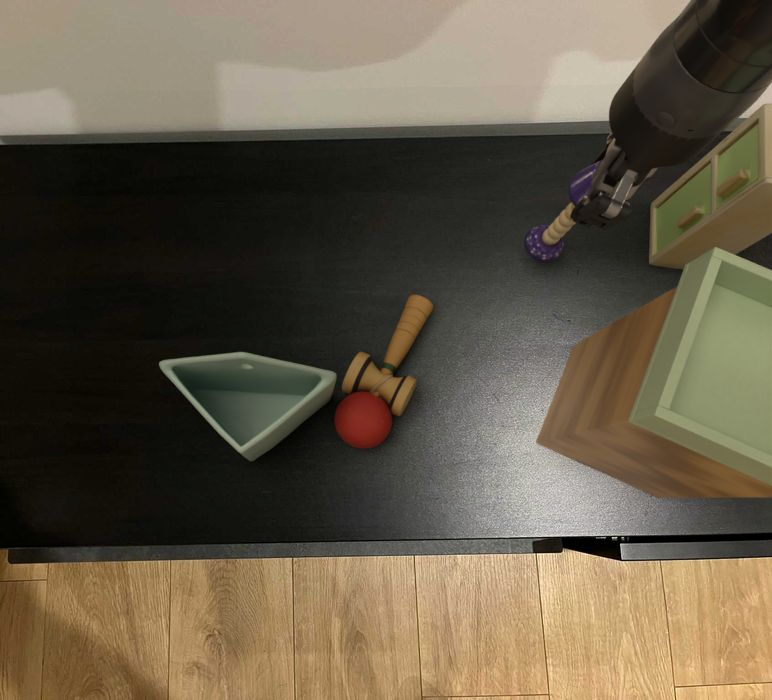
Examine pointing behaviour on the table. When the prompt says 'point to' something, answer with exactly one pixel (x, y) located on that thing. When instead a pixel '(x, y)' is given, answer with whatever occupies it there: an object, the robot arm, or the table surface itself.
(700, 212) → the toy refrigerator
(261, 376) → the planter
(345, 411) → the kendama
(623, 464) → the stand
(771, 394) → the box
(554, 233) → the toy lamp
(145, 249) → the table surface
